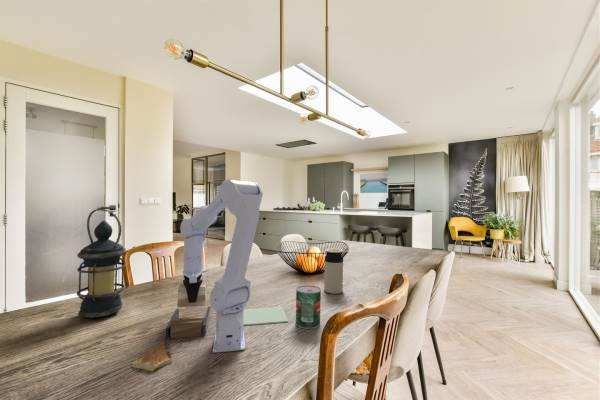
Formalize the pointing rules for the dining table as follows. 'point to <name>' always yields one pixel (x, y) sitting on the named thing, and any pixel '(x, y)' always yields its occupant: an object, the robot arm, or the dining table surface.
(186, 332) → the offcut stack
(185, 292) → the birch block
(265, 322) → the rubber mat
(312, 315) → the canned tomato
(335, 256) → the travel mug
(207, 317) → the rack
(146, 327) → the dining table surface
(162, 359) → the shard
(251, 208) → the robot arm
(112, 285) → the lantern
